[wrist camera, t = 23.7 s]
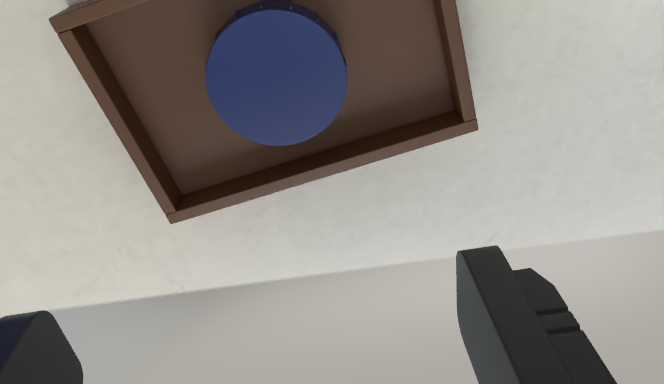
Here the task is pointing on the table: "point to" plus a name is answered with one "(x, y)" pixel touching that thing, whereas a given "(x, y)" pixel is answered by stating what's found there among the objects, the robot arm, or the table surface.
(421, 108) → the tray
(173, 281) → the table surface
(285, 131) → the jar lid
